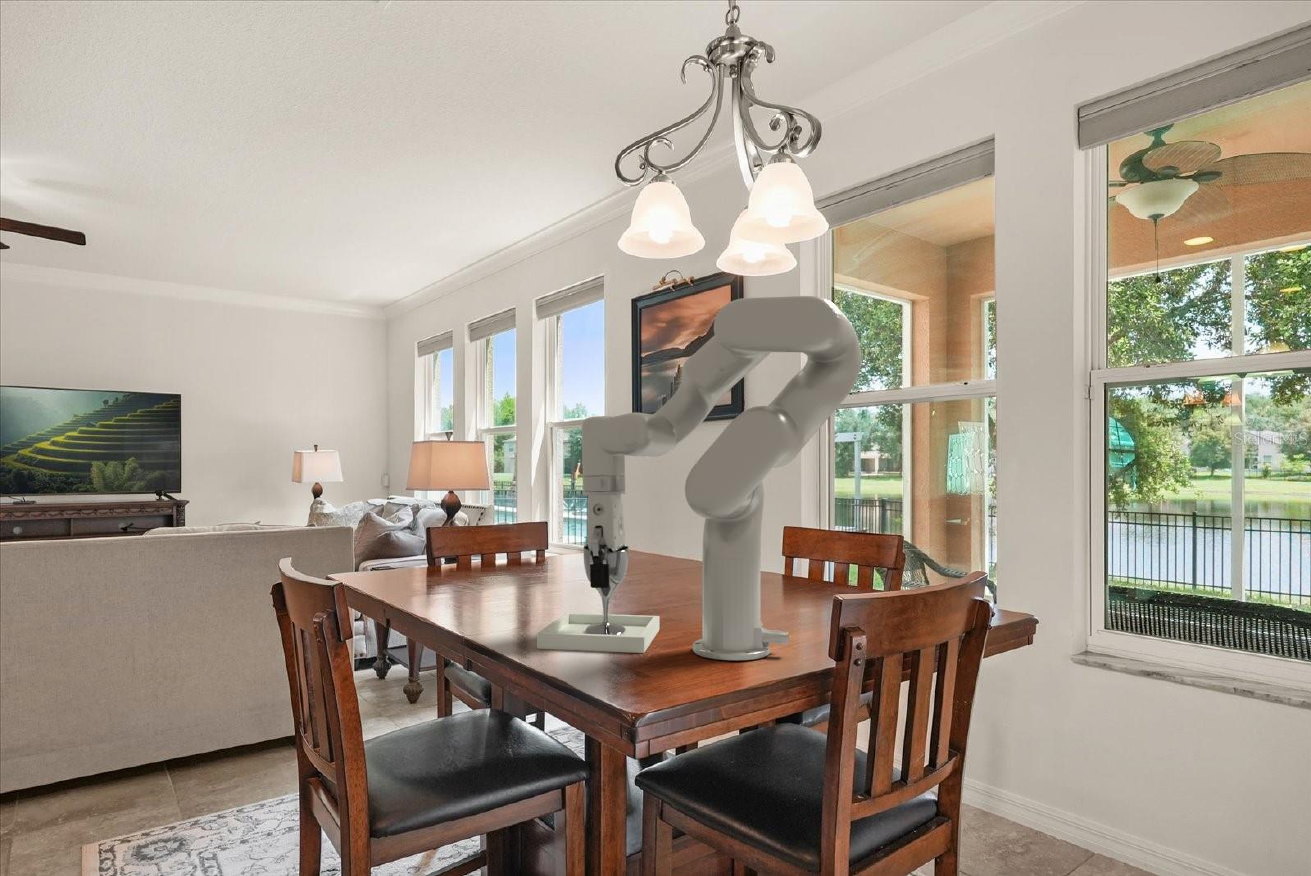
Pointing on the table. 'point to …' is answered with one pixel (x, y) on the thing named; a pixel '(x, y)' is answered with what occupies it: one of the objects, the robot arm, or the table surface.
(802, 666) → the table surface
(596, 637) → the tray
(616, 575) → the wine glass
